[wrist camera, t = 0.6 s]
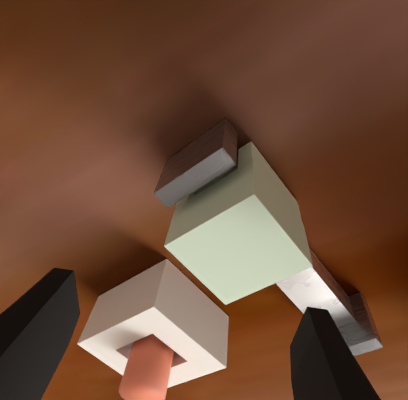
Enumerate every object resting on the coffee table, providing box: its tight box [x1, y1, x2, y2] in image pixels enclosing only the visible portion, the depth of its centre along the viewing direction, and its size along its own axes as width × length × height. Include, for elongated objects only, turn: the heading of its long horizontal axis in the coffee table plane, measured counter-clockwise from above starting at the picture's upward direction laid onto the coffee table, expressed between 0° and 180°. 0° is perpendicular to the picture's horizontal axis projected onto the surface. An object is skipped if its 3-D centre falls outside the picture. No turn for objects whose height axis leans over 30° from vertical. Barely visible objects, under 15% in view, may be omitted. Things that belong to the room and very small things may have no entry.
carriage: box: [164, 141, 313, 305], centre depth 17 cm, size 5×5×5 cm
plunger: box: [119, 334, 174, 400], centre depth 22 cm, size 3×3×4 cm
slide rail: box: [154, 118, 383, 356], centre depth 20 cm, size 16×4×4 cm, turn 38°
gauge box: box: [77, 259, 229, 388], centre depth 24 cm, size 7×7×4 cm
